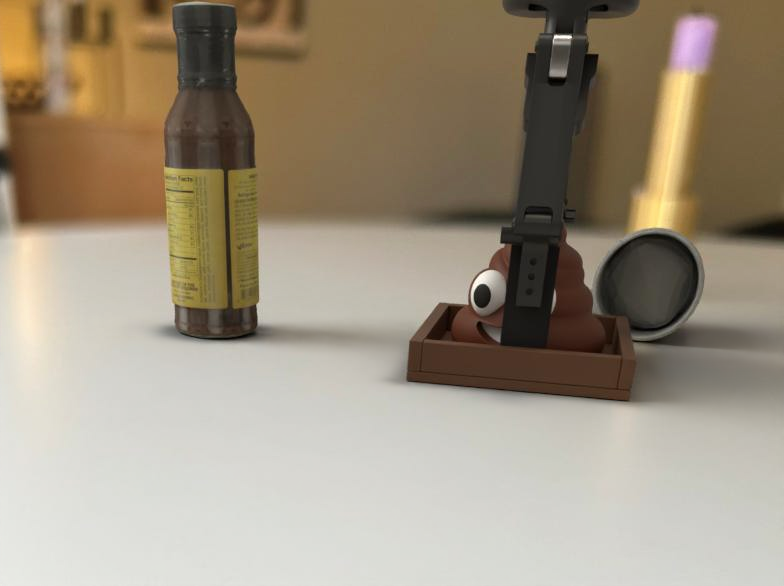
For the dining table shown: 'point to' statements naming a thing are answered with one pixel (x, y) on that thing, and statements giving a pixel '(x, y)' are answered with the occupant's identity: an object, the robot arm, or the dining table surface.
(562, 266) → the poop emoji
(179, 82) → the sauce bottle
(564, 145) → the robot arm
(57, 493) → the dining table surface
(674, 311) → the ceramic mug
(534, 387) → the walnut tray
